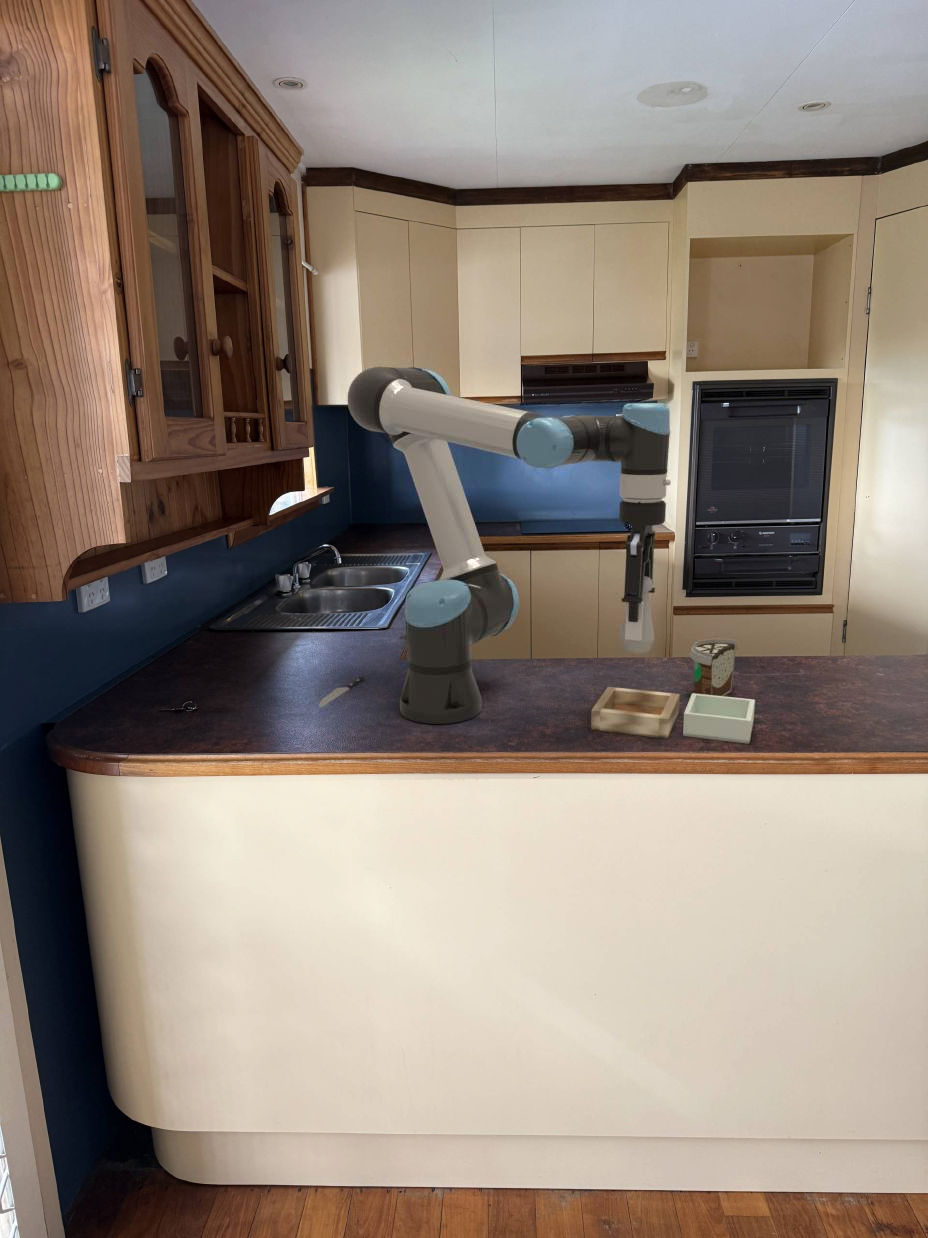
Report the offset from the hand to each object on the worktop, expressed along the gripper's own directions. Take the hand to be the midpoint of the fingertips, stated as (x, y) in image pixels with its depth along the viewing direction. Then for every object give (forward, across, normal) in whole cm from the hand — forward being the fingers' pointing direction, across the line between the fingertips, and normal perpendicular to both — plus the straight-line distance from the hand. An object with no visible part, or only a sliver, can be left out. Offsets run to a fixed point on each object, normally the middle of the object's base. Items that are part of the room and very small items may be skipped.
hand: (636, 634), depth 144 cm
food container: (+16, +18, -10) cm, 26 cm away
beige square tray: (+16, 0, 0) cm, 16 cm away
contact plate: (+16, 0, 0) cm, 16 cm away
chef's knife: (+17, -4, +58) cm, 61 cm away
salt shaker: (+3, 0, 0) cm, 3 cm away
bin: (+16, +1, -14) cm, 21 cm away
